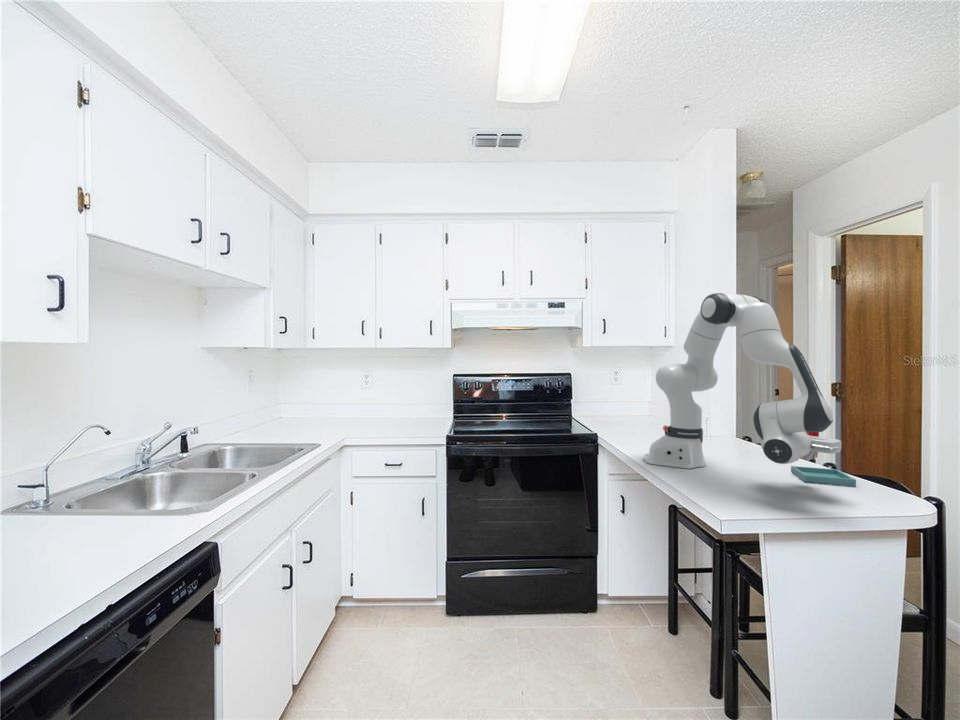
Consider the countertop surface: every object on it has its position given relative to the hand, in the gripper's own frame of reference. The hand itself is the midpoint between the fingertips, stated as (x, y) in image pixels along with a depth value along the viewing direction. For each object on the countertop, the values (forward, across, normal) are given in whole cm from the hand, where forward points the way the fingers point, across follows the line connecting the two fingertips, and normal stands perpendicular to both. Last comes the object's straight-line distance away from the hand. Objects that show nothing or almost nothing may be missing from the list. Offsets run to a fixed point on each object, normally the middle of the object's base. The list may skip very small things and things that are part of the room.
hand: (805, 437), depth 142 cm
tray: (+14, -2, +16) cm, 21 cm away
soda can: (-1, 0, +6) cm, 7 cm away
